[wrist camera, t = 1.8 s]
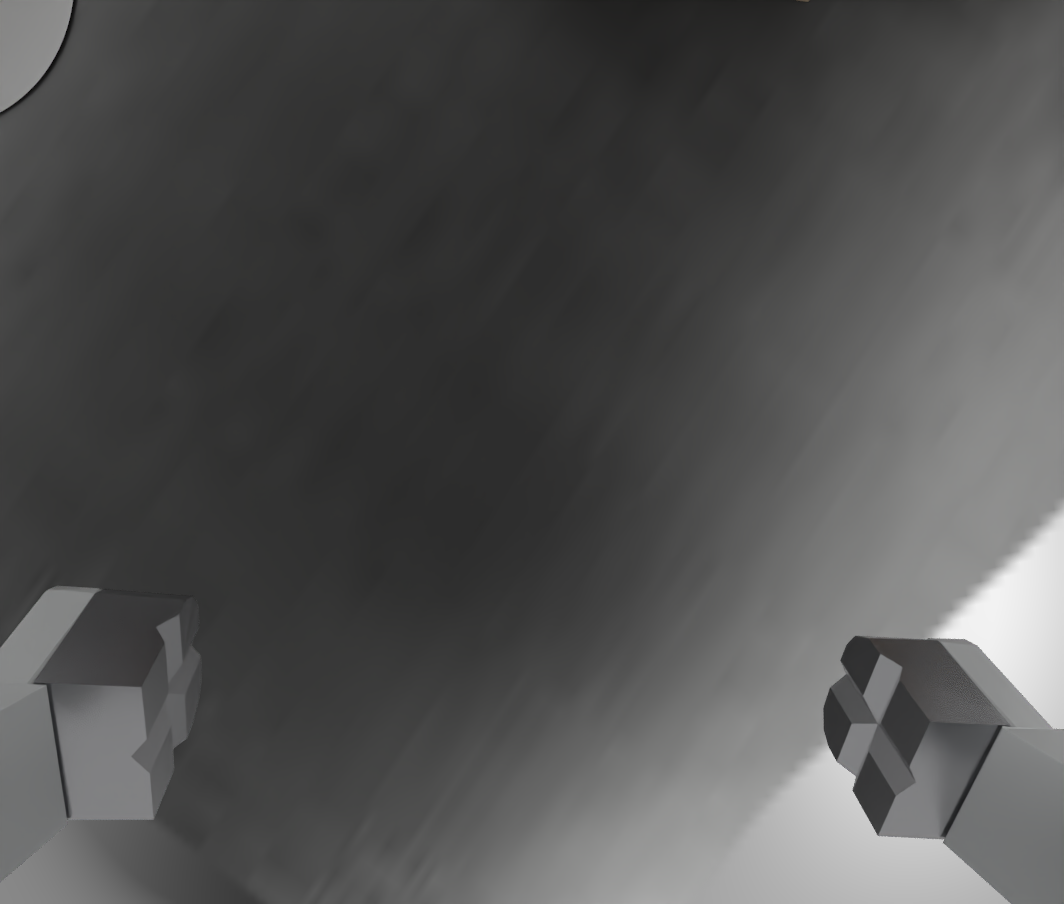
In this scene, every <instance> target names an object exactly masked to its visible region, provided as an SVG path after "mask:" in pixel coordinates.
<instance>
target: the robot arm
mask: <svg viewBox="0 0 1064 904" xmlns="http://www.w3.org/2000/svg"><path fill="white" fill-rule="evenodd" d="M72 5H73V0H0V112H2V111H3V110H5V109H7V108H8V107H10V106H11V105H13V104H14V103H15V102H17V101H18V100H19V99H21V98H22V97H23V96H24V95H25V94H26V93H27V92H29V91H30V89H31V88H32V87H33V86H34V85H35V84H36V83H37V82H38V81H39V80H40V78H41V77H42V76H43V75H44V73H45V72H46V70H47V69H48V68H49V66H50V64H51V63H52V61H53V59H54V58H55V56H56V54H57V52H58V50H59V48H60V46H61V43H62V41H63V38H64V36H65V33H66V30H67V27H68V23H69V19H70V15H71V10H72ZM199 626H200V624H199V612H198V602H197V601H196V599H195V598H194V597H193V596H189V595H177V594H164V593H152V592H139V591H127V590H114V589H103V590H101V589H98V588H84V587H68V586H56V587H54V588H51V589H49V590H47V591H46V592H45V593H44V594H43V595H42V596H41V598H40V599H39V600H38V601H37V603H36V604H35V605H34V606H33V608H32V609H31V610H30V611H29V613H28V614H27V615H26V616H25V618H24V619H23V620H22V621H21V623H20V624H19V625H18V626H17V628H16V629H15V630H14V631H13V633H12V634H11V635H10V636H9V638H8V639H7V640H6V641H5V643H4V644H3V645H2V646H1V648H0V882H1V881H2V880H4V879H5V878H6V877H7V876H8V875H9V874H11V872H13V871H14V870H15V869H16V868H18V867H19V866H20V865H21V864H22V863H23V862H25V861H26V860H27V859H28V858H29V857H30V856H32V855H33V854H34V853H35V852H36V851H37V850H39V849H40V848H41V847H42V846H43V845H44V844H46V843H47V842H48V841H49V840H50V839H51V838H53V837H54V836H55V835H56V834H57V833H58V832H60V831H61V830H62V829H63V828H64V827H66V826H67V824H68V822H67V820H123V819H124V820H125V819H126V820H139V819H140V820H141V819H154V817H155V815H156V812H157V810H158V808H159V805H160V803H161V800H162V798H163V796H164V793H165V791H166V788H167V786H168V783H169V781H170V779H171V776H172V774H173V771H174V757H173V748H174V747H175V746H177V745H178V744H180V743H181V742H182V741H184V740H185V739H187V737H188V734H189V732H190V729H191V726H192V724H193V721H194V719H195V714H196V710H197V705H198V701H199V696H200V690H201V677H202V666H201V656H200V654H199V653H198V652H197V651H196V650H195V649H194V648H193V647H192V646H191V644H192V641H193V639H194V637H195V635H196V633H197V630H198V628H199ZM840 661H841V663H842V665H843V668H844V670H845V672H846V675H845V676H844V677H843V678H841V679H840V680H839V681H838V682H836V683H835V684H834V685H833V686H831V687H830V690H829V693H828V696H827V699H826V702H825V705H824V732H825V735H826V739H827V743H828V746H829V748H830V750H831V752H832V753H833V755H834V757H835V759H836V761H837V762H838V763H840V764H841V765H842V766H843V767H845V768H846V769H847V770H848V771H850V772H851V773H852V774H854V775H855V776H856V779H855V783H854V787H853V792H854V794H855V796H856V797H857V799H858V801H859V803H860V804H861V806H862V808H863V810H864V812H865V813H866V815H867V817H868V819H869V821H870V822H871V824H872V826H873V828H874V829H875V831H876V833H877V835H878V836H889V837H909V838H927V839H945V840H944V842H943V843H944V844H945V845H946V846H947V847H948V848H950V849H951V850H952V851H953V852H954V853H955V854H956V855H958V857H960V858H961V859H962V860H963V861H964V862H965V863H966V864H967V865H969V866H970V867H971V868H972V869H973V870H974V871H975V872H976V873H977V874H979V875H980V876H981V877H982V878H983V879H984V880H985V881H986V882H988V883H989V884H990V885H991V886H992V887H993V888H994V889H995V890H997V891H998V892H999V893H1000V894H1001V895H1002V896H1003V897H1004V898H1005V899H1007V900H1008V901H1009V902H1010V903H1011V904H1064V729H1053V728H1052V727H1051V726H1050V725H1049V724H1048V723H1047V721H1046V720H1045V719H1044V718H1043V717H1042V716H1041V715H1040V714H1039V713H1038V712H1037V711H1036V710H1035V708H1034V707H1033V706H1032V705H1031V704H1030V703H1029V702H1028V701H1027V700H1026V699H1025V698H1024V697H1023V695H1022V694H1021V693H1020V692H1019V691H1018V690H1017V689H1016V688H1015V687H1014V685H1013V684H1012V683H1011V682H1010V681H1009V680H1008V679H1007V678H1006V677H1005V676H1004V675H1003V673H1002V672H1000V670H999V669H998V668H997V667H996V666H995V665H994V664H993V663H992V662H991V660H990V659H989V658H988V657H987V656H986V655H985V654H984V653H983V652H982V650H981V649H980V648H979V647H978V646H977V645H975V644H972V643H971V642H969V641H967V640H965V639H934V638H928V639H926V640H925V639H907V638H888V637H870V636H855V637H854V638H853V639H852V640H851V641H850V642H849V643H848V644H847V645H846V648H845V650H844V653H843V655H842V658H841V660H840Z"/></svg>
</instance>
